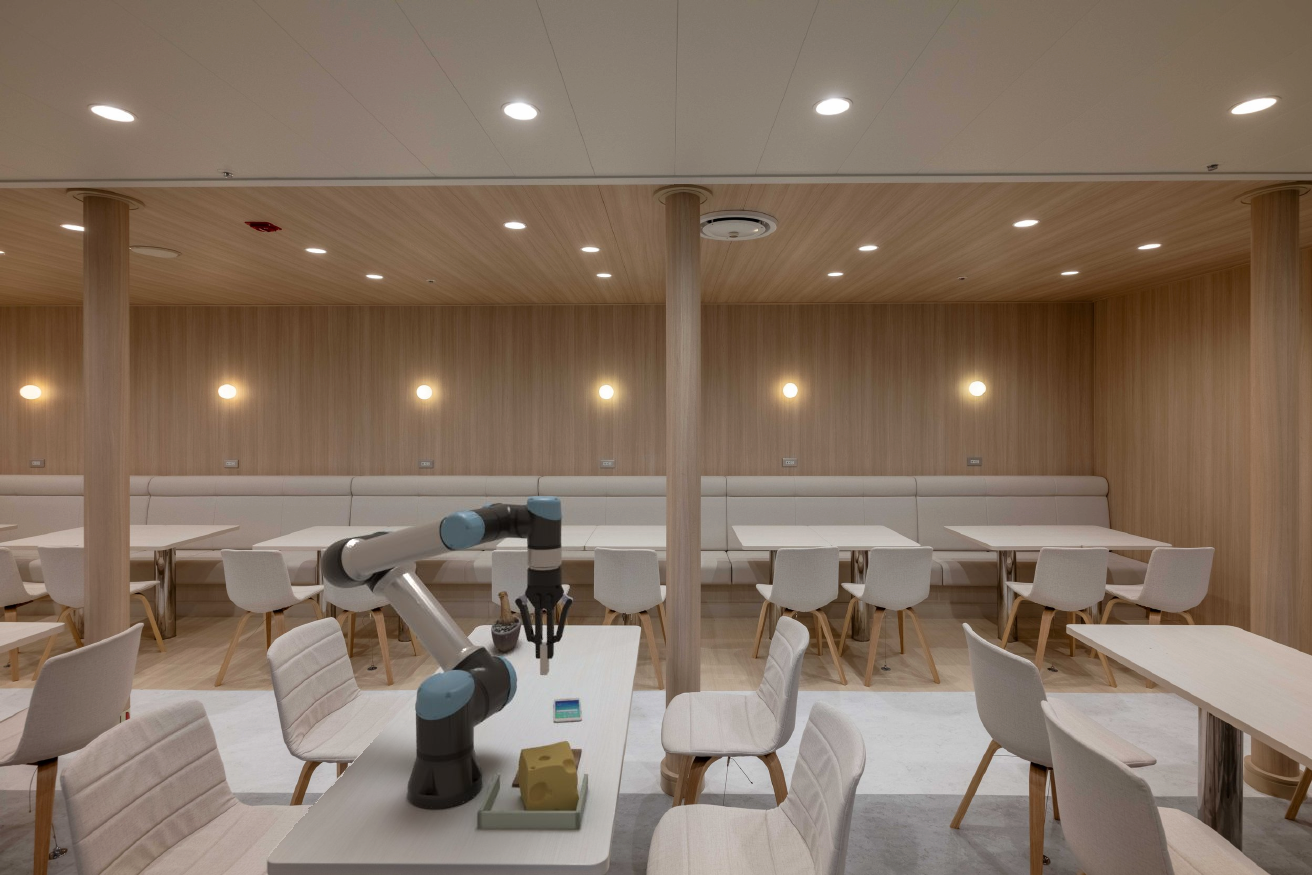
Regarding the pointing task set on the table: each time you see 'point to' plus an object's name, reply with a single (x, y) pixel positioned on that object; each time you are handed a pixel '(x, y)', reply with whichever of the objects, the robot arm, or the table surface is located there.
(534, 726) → the table surface
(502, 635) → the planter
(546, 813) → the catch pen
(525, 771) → the cheese
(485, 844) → the table surface
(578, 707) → the smartphone
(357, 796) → the table surface
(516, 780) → the serving board
